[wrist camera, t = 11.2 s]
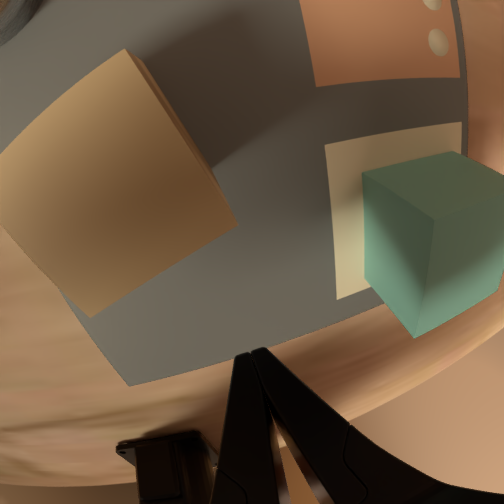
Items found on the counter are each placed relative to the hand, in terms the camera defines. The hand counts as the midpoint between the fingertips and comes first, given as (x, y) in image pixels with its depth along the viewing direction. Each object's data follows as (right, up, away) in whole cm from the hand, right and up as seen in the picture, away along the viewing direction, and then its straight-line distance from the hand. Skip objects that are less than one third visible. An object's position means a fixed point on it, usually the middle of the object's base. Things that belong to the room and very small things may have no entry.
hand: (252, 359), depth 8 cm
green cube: (+7, +4, +4) cm, 9 cm away
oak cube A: (-4, +6, 0) cm, 7 cm away
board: (0, +7, +2) cm, 8 cm away
